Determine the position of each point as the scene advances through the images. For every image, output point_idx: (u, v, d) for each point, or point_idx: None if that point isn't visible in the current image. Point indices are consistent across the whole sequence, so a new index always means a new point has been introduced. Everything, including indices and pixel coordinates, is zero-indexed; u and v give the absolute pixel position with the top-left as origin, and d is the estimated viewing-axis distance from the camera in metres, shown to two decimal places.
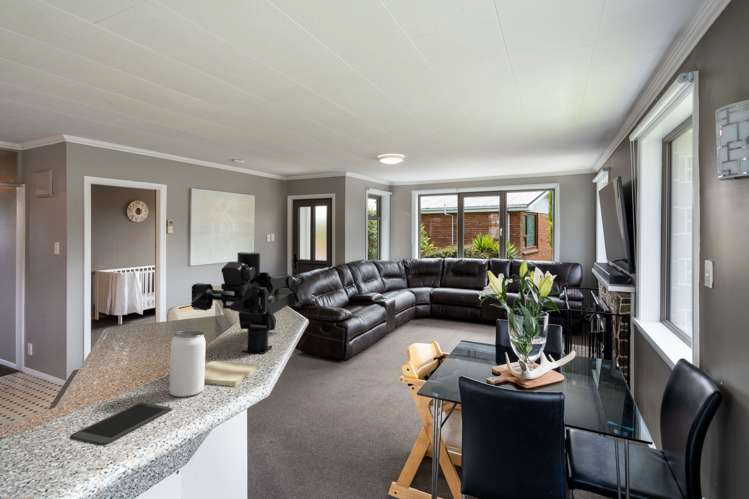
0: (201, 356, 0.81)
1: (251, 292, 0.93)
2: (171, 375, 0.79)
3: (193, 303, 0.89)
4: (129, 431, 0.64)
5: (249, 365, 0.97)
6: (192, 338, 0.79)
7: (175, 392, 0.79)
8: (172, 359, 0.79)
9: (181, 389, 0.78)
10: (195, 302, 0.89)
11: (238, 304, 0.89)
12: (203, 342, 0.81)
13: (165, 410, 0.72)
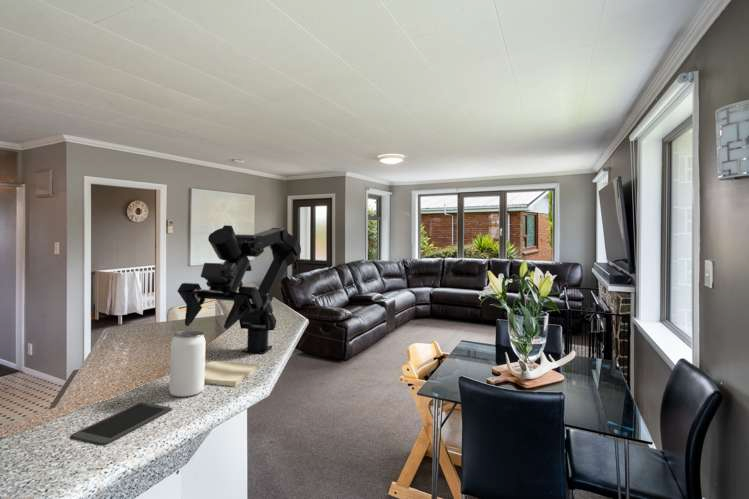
0: (201, 356, 0.81)
1: (240, 299, 0.89)
2: (171, 375, 0.79)
3: (187, 323, 0.88)
4: (129, 431, 0.64)
5: (249, 365, 0.97)
6: (192, 338, 0.79)
7: (175, 392, 0.79)
8: (172, 359, 0.79)
9: (181, 389, 0.78)
10: (188, 320, 0.89)
11: (231, 319, 0.88)
12: (203, 342, 0.81)
13: (165, 410, 0.72)
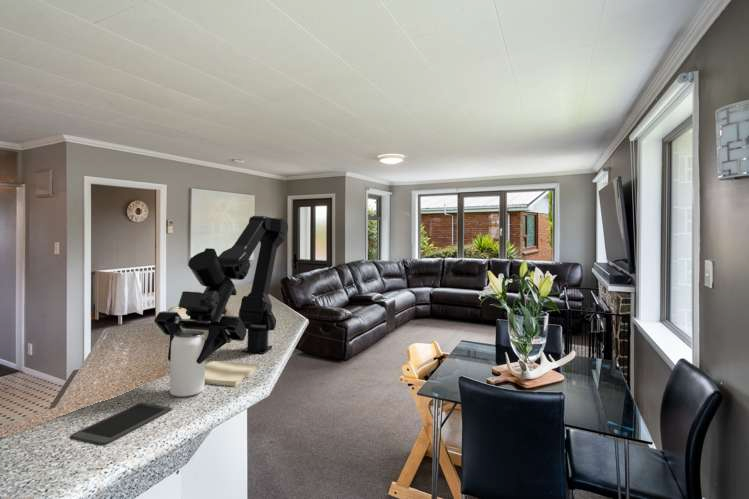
0: None
1: (215, 331, 0.82)
2: (171, 375, 0.79)
3: (170, 358, 0.81)
4: (129, 431, 0.64)
5: (249, 365, 0.97)
6: (192, 338, 0.79)
7: (175, 392, 0.79)
8: (172, 359, 0.79)
9: (181, 389, 0.78)
10: None
11: (205, 353, 0.81)
12: (203, 342, 0.81)
13: (165, 410, 0.72)
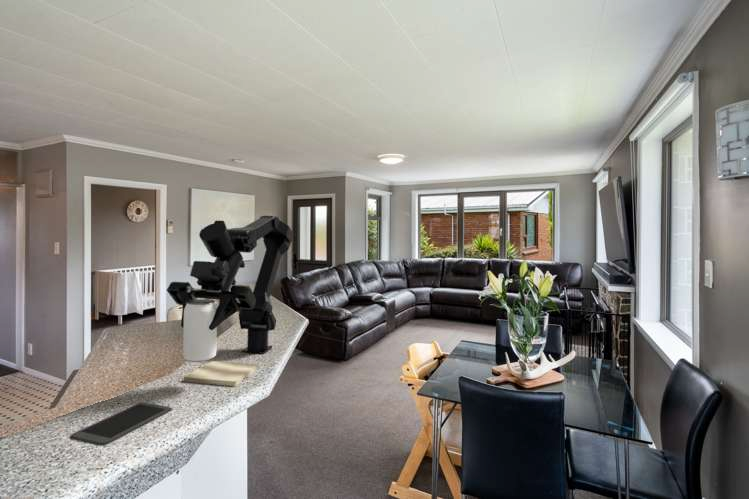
0: None
1: (225, 299, 0.85)
2: (184, 341, 0.82)
3: (183, 325, 0.84)
4: (129, 431, 0.64)
5: (249, 365, 0.97)
6: (204, 305, 0.82)
7: (188, 357, 0.82)
8: (185, 325, 0.82)
9: (194, 354, 0.82)
10: None
11: (216, 320, 0.84)
12: (214, 309, 0.84)
13: (165, 410, 0.72)
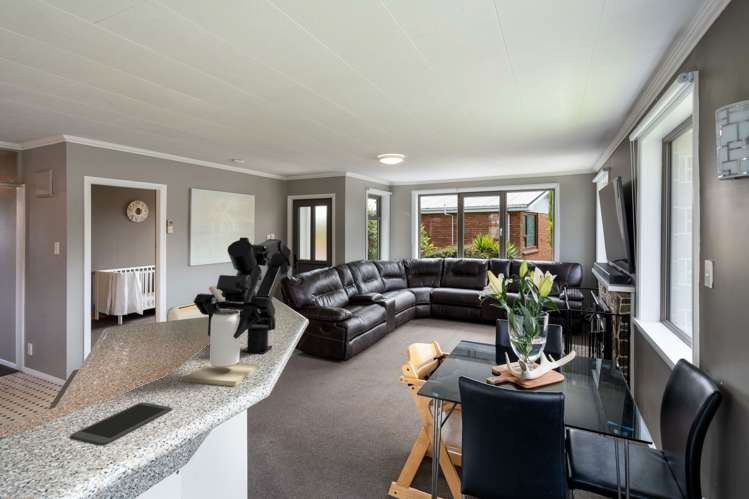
0: None
1: (248, 310, 0.93)
2: (211, 348, 0.90)
3: None
4: (129, 431, 0.64)
5: (249, 365, 0.97)
6: (230, 316, 0.90)
7: (215, 363, 0.89)
8: (212, 334, 0.90)
9: (220, 360, 0.89)
10: None
11: (240, 329, 0.92)
12: (238, 319, 0.92)
13: (165, 410, 0.72)
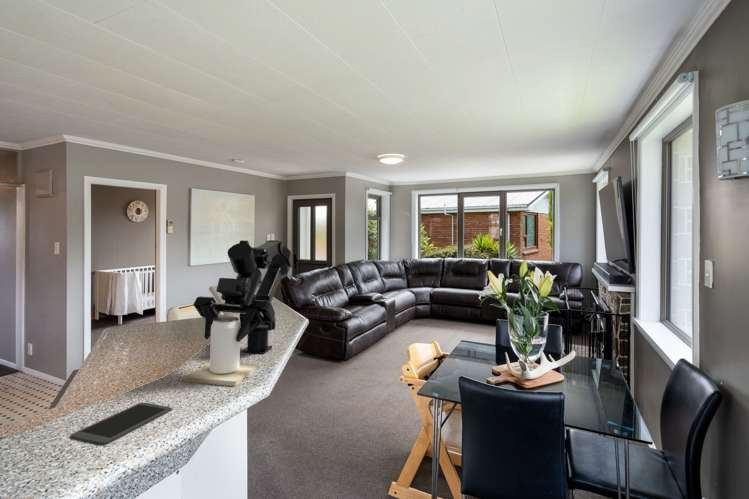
0: None
1: (251, 313, 0.93)
2: (212, 355, 0.90)
3: (206, 336, 0.91)
4: (129, 431, 0.64)
5: (249, 365, 0.97)
6: (230, 322, 0.90)
7: (215, 370, 0.89)
8: (213, 341, 0.90)
9: (221, 367, 0.89)
10: (207, 333, 0.92)
11: (243, 332, 0.91)
12: (239, 326, 0.92)
13: (165, 410, 0.72)
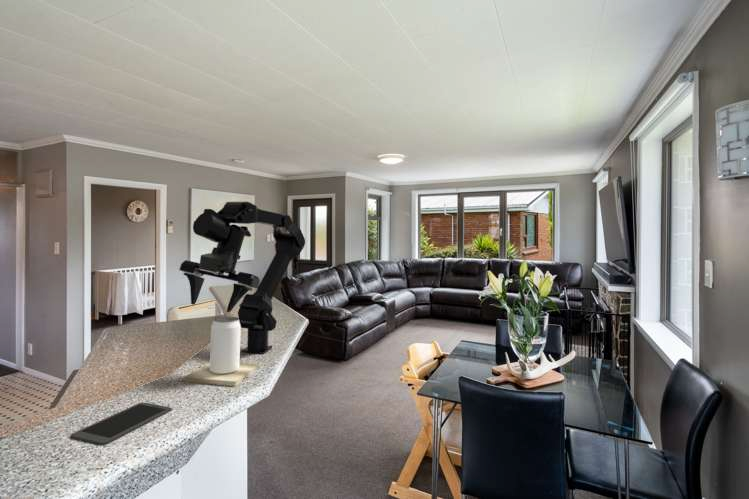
0: (238, 338, 0.92)
1: (239, 288, 0.96)
2: (212, 355, 0.90)
3: (193, 303, 0.98)
4: (129, 431, 0.64)
5: (249, 365, 0.97)
6: (230, 322, 0.90)
7: (215, 370, 0.89)
8: (213, 341, 0.90)
9: (221, 367, 0.89)
10: (194, 300, 0.98)
11: (232, 304, 0.98)
12: (239, 326, 0.92)
13: (165, 410, 0.72)
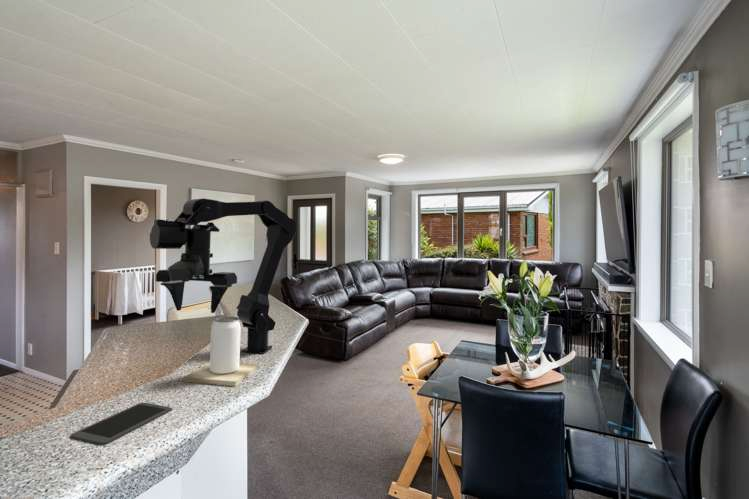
0: (237, 338, 0.92)
1: (216, 289, 0.96)
2: (212, 355, 0.90)
3: (178, 309, 1.00)
4: (128, 431, 0.64)
5: (249, 365, 0.97)
6: (230, 322, 0.90)
7: (215, 370, 0.89)
8: (213, 341, 0.90)
9: (221, 367, 0.89)
10: (178, 306, 1.00)
11: (215, 305, 0.98)
12: (239, 326, 0.92)
13: (165, 410, 0.72)
